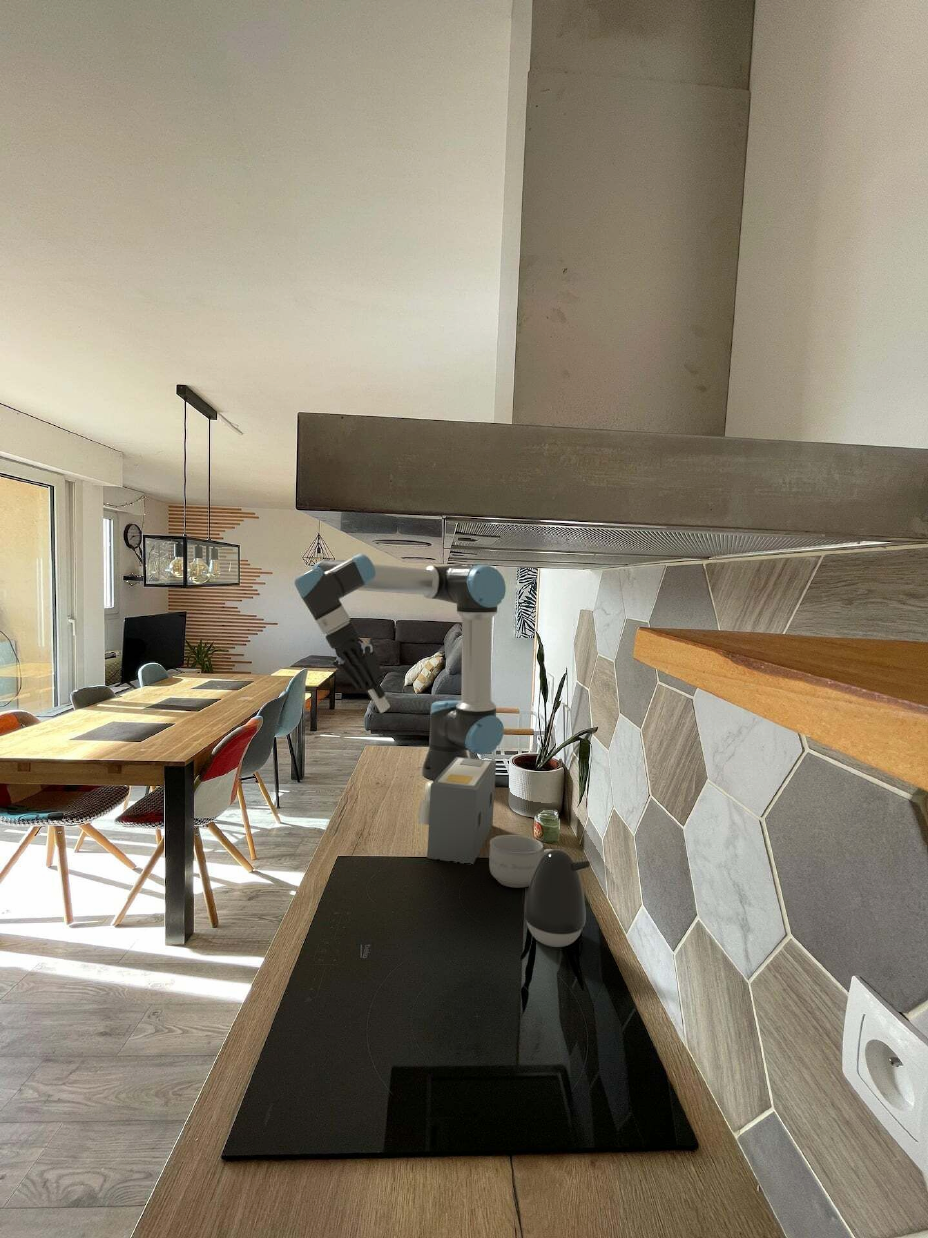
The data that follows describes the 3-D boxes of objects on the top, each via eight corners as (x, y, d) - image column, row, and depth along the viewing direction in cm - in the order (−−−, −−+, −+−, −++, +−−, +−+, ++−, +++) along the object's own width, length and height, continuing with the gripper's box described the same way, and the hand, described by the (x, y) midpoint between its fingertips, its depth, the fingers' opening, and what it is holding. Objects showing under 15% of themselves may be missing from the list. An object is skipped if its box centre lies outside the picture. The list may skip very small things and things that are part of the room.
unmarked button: (429, 798, 161) (430, 778, 161) (458, 802, 160) (459, 782, 160) (423, 805, 157) (424, 784, 156) (454, 809, 155) (455, 788, 155)
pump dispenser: (579, 962, 103) (585, 868, 103) (516, 946, 107) (521, 856, 106) (589, 931, 113) (595, 845, 112) (531, 918, 116) (536, 834, 116)
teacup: (478, 884, 129) (480, 844, 128) (501, 865, 138) (503, 828, 138) (544, 903, 122) (547, 862, 122) (563, 882, 132) (566, 843, 131)
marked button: (423, 819, 147) (424, 797, 147) (456, 823, 146) (457, 801, 145) (417, 826, 142) (418, 804, 142) (450, 831, 141) (451, 808, 140)
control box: (453, 820, 163) (456, 754, 162) (492, 825, 161) (496, 759, 160) (427, 858, 140) (431, 782, 139) (472, 864, 137) (477, 787, 137)
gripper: (311, 642, 160) (359, 723, 163) (347, 624, 153) (396, 710, 157) (329, 631, 166) (375, 709, 170) (364, 613, 159) (411, 695, 163)
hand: (385, 709), depth 163 cm, fingers closed
